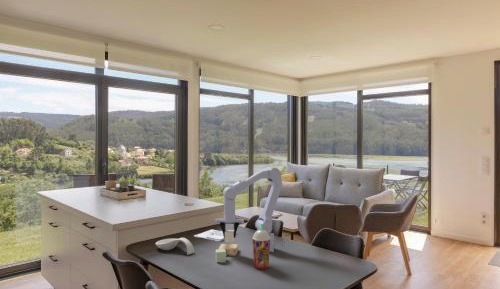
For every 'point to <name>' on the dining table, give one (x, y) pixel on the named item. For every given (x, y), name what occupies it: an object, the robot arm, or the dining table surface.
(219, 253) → the sage block
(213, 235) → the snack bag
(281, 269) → the dining table surface
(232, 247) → the oak base
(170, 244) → the spoon rest
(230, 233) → the cream block
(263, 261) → the smoothie
